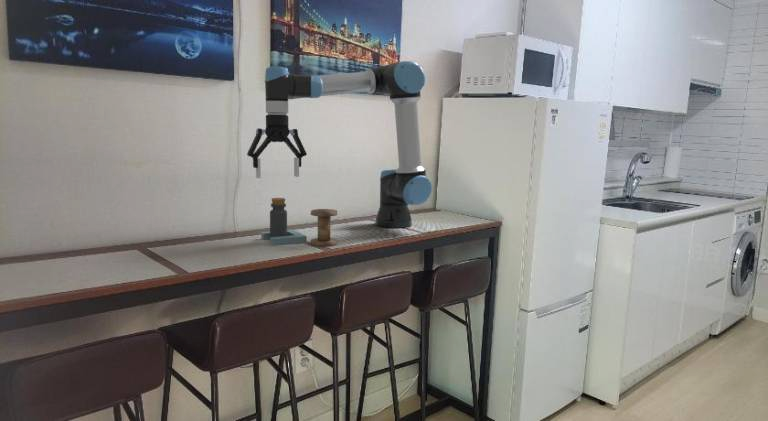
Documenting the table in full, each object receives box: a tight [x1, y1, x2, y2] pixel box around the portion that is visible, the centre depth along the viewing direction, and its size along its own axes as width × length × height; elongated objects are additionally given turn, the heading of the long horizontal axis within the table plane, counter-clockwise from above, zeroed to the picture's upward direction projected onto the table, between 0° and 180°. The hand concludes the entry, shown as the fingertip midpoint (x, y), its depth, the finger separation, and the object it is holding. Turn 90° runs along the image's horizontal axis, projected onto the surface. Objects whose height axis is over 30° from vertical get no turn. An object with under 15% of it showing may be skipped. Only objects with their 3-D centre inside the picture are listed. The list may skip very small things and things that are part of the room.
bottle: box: [269, 197, 288, 237], centre depth 189 cm, size 6×6×15 cm
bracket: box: [260, 229, 308, 247], centre depth 191 cm, size 12×13×2 cm
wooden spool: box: [310, 208, 338, 247], centre depth 187 cm, size 9×9×11 cm
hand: (277, 177), depth 186 cm, fingers open, 13 cm apart
